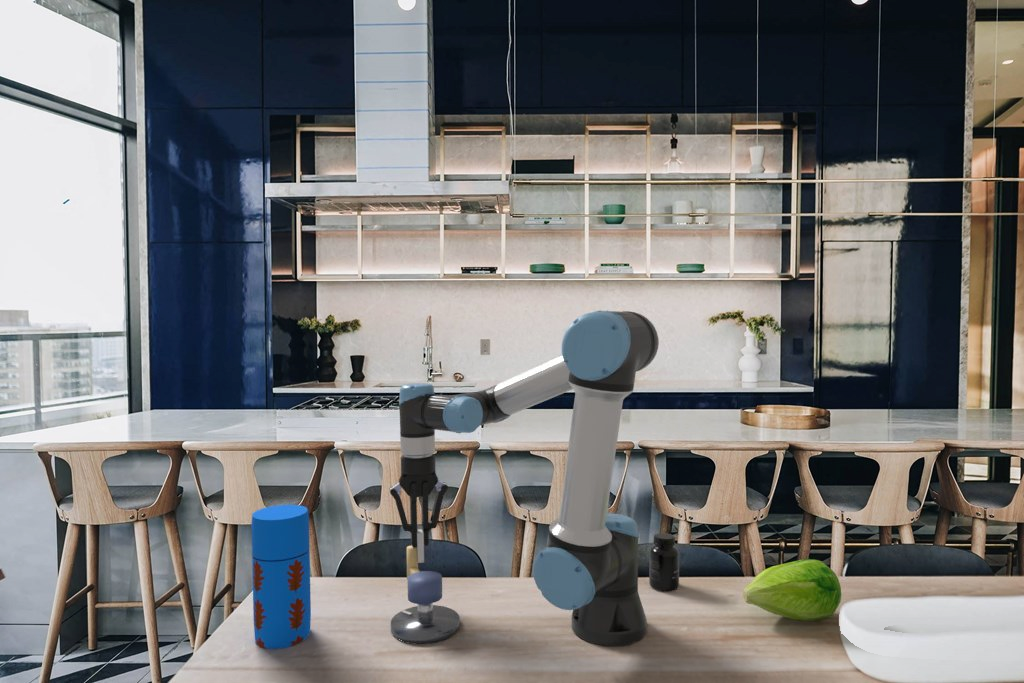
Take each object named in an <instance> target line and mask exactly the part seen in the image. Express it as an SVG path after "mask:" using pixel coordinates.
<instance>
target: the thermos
mask: <svg viewBox="0 0 1024 683" xmlns="http://www.w3.org/2000/svg"><path fill="white" fill-rule="evenodd" d="M310 549H311V548H310V516H309V510H308V508H307V507H306V506H303V505H299V504H279V505H272V506H268V507H267V506H266V507H264V508H260V509H258V510H256V511H254V512H253V513H252V515H251V557H252V558H251V561H252V562H251V565H252V569H251V570H252V602H253V603H252V604H253V606H252V610H253V628H254V630H253V631H254V641H255V642H254V643H255V644H256V645H257V646H258V647H261V648H264V649H270V650H271V649H272V650H276V649H277V650H278V649H285V648H290V647H294V646H296V645H298V644H301V643H302V642H304V641H303V640H304V639H305V640H307V638H309V636H310V634H311V623H312V622H311V620H312V619H311V617H312V613H311V612H312V610H311V609H312V607H311V603H312V601H311V599H312V598H311V558H310V557H311V556H310ZM308 635H309V636H308Z"/></svg>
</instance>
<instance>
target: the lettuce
mask: <svg viewBox="0 0 1024 683" xmlns="http://www.w3.org/2000/svg"><path fill="white" fill-rule="evenodd" d="M841 588H842V587H841V584H840V581H839V578H838V576H837V574H836V572H835V571H833V569H831V568H830V567H829V566H828V565H827V564H825V563H824V562H823V561H822V560H819V559H813V558H812V559H809V558H803V559H799V560H794V561H790V562H789V561H788V562H785V563H782V564H781V563H780V564H777V565H773V566H770V567H768V568H765V569H764V570H762V571H761V572H760V573H758V575H756V576H755V577H754V578H753V580H752V581H751V582H750V583H749V584H748V585H747V586H746V587H745V588H744V589H743V592H742V597H743V598H742V599H743V600H744V602H745V603H747V604H749V605H754V606H756V607H759V608H760V609H762V610H764V611H766V612H768V613H771V614H773V615H776V616H781V617H785V618H787V619H790V620H796V621H807V622H808V621H810V622H813V621H815V622H816V621H820V620H824V619H827V618H831V617H833V615H834V613H835V612H836V610H837V609H838V607H839V606H840V603H841V602H842V589H841Z"/></svg>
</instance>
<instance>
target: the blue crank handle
mask: <svg viewBox="0 0 1024 683" xmlns="http://www.w3.org/2000/svg"><path fill="white" fill-rule="evenodd" d="M406 580H407V599H408V600H407V601H409V602H411V603H412V604H415V605H418V604H431V603H433V604H434V603H437V602H439V601H440V600H441V599H442V598H443V575H442V574H441V573H440V572H437V571H433V570H420V569H419V563H418V562H417V547H413V546H412V545H408V546H406Z"/></svg>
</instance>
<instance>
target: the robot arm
mask: <svg viewBox="0 0 1024 683" xmlns="http://www.w3.org/2000/svg"><path fill="white" fill-rule="evenodd" d="M659 341H660V340H659V334H658V331H657V329H656V327H655V325H654V324H653V322H652V321H650V320H649V318H647V316H645V315H642V314H641V313H637V312H636V311H625V310H624V311H616V310H615V311H614V310H613V311H612V310H595V311H593V312H592V311H591V312H587V313H584V314H582V315H580V316H578V317H576V319H575V320H573V321H572V322H571V323H570V325H569V326H568V327H567V329H566V331H565V333H564V335H563V337H562V341H561V354H560V355H558V356H556V357H553V358H552V359H549V360H547V361H544V362H543V363H540V364H538V365H536V366H534V367H531V368H529V369H527V370H525V371H523V372H521V373H519V374H517V375H515V376H512V377H510V378H508V379H505V380H504V381H502V382H499V383H497V384H495V385H493V386H491V387H488V388H486V389H483V390H477V391H472V392H468V393H467V392H466V393H460V394H452V395H451V394H449V395H448V394H436V393H435V388H434V385H433V384H431V383H425V382H420V383H419V382H418V383H407V384H404V385H402V386H400V389H399V402H398V406H399V407H398V408H399V430H400V431H399V432H400V433H399V435H400V437H399V438H400V442H399V444H400V453H401V457H400V476H399V479H398V483H396V484H395V485H394V486H390V487H389V488H388V490H389V493H390V495H391V497H392V498H393V499H394V501H395V504H396V508H397V512H398V515H399V519H400V522H401V526H402V530H403V531H404V532H410V543H411V546H413V547H417V562H418V564H422V563H425V547H427V546H429V540H430V539H429V538H430V536H429V532H430V530H433V529H436V528H437V526H438V523H439V518H440V514H441V508H442V504H443V499H444V496H445V494H446V492H447V491H448V488H449V486H448V484H447V483H446V482H444V481H443V482H442V481H441V480H439V477H438V476H437V472H436V455H435V454H434V453H435V452H436V437H435V432H436V431H443V432H444V431H445V432H451V433H455V434H462V433H466V434H469V433H474V432H475V431H476V430H477V429H478V428H479V427H480V426H483V425H488V424H492V423H493V424H496V423H499V422H502V421H505V420H507V419H509V418H510V417H511V415H514V414H516V413H518V412H521V411H524V410H526V409H529V408H531V407H533V406H535V405H538V404H541V403H543V402H545V401H548V400H551V399H552V398H555V397H558V396H560V395H563V394H564V393H567V392H569V391H572V390H574V392H575V393H574V394H575V395H574V402H573V409H572V417H571V422H570V423H571V424H570V431H569V438H568V447H567V453H566V461H565V468H564V469H565V470H564V476H563V483H562V490H561V492H562V493H561V498H560V506H559V512H558V517H557V518H556V519H554V520H553V521H552V522H550V524H549V526H548V532H547V541H546V546H545V548H543V549H541V551H539V553H538V554H537V555H536V557H535V558H534V560H533V561H534V562H533V565H532V574H533V578H534V582H535V585H536V587H537V590H539V591H540V592H541V595H542V596H543V598H544V599H545V600H547V602H548V603H550V604H551V605H552V606H554V607H556V608H558V609H561V610H563V611H565V610H566V611H572V613H571V629H572V631H573V633H574V634H575V635H576V636H577V637H579V638H580V639H582V640H583V641H587V642H589V643H593V644H596V645H602V646H609V647H611V646H612V647H613V646H616V647H617V646H627V645H631V644H635V643H636V642H639V641H640V640H643V639H644V637H645V636H646V634H647V633H648V632H647V631H648V630H647V629H648V628H647V625H648V624H647V623H648V622H647V621H648V620H647V616H646V613H645V609H644V606H643V604H642V600H641V597H640V595H639V538H640V537H639V531H638V524H637V522H636V521H635V519H634V518H632V517H629V516H628V515H627V516H626V515H624V514H623V515H622V514H619V513H611V512H608V508H609V500H610V494H611V493H610V492H611V488H612V487H611V485H612V480H613V473H614V465H615V460H616V459H615V458H616V451H617V446H618V445H617V444H618V440H619V439H618V438H619V431H620V425H621V416H622V411H623V403H624V400H625V398H627V397H628V396H629V395H631V394H632V393H633V392H634V386H635V380H636V373H637V372H640V371H642V370H643V369H645V368H647V367H648V366H649V365H650V364H651V363H652V362H653V360H654V359H655V357H656V356H657V352H658V350H659V345H660V344H659V343H660V342H659ZM435 430H436V431H435ZM434 488H435V489H436V493H435V497H434V501H433V502H434V503H433V506H432V510H431V514H430V515H431V516H430V519H429V495H430V494H431V493H432V491H433V490H434ZM401 489H403V491H404V492H405V494H406V495H407V496H408V497H409V517H410V518H409V520H410V523H408V520H407V516H406V512H405V509H404V505H403V502H402V499H401V494H402V490H401ZM418 498H420V500H421V501H420V502H421V507H420V508H421V509H420V510H421V529H418V510H417V509H418V508H417V507H418V505H417V504H418Z"/></svg>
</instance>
